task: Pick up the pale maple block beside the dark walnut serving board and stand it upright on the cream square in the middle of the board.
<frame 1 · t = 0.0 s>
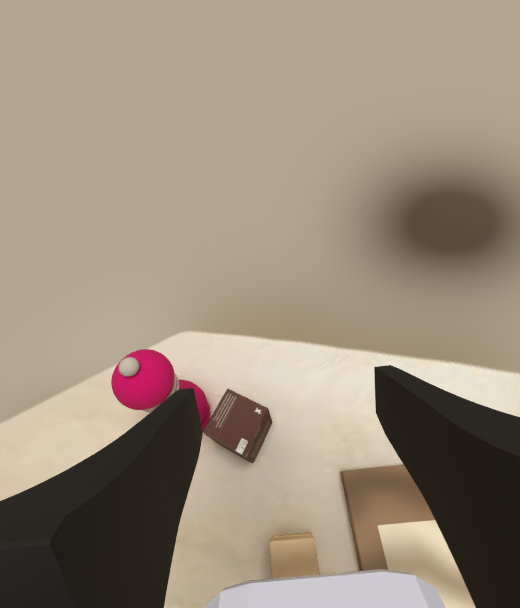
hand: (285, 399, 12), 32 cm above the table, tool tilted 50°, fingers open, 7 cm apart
box: (245, 432, 42), on the table
pepper mill: (190, 416, 44), on the table
walnut board: (427, 572, 32), on the table
maple block: (294, 559, 34), on the table
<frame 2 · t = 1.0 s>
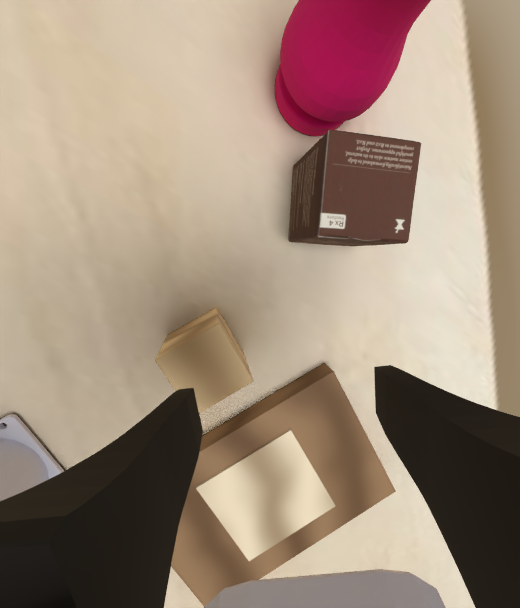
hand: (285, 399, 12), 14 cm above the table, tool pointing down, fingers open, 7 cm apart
box: (323, 208, 25), on the table
pepper mill: (312, 94, 23), on the table
walnut board: (264, 478, 28), on the table
maple block: (206, 343, 25), on the table
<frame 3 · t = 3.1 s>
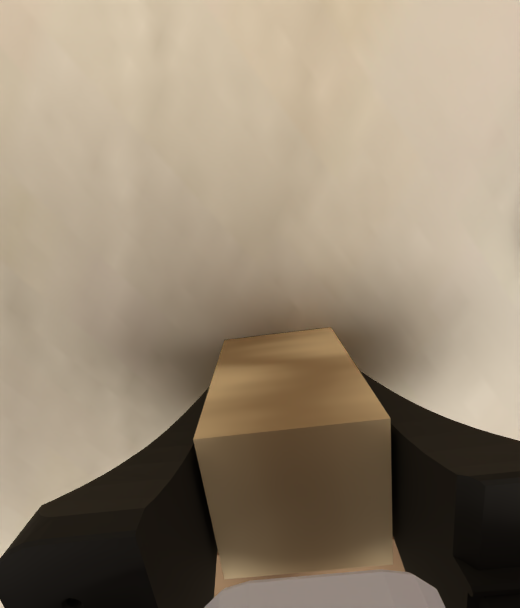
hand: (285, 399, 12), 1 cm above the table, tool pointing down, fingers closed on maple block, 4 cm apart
walnut board: (274, 605, 17), on the table
maple block: (283, 381, 13), on the table, touching gripper
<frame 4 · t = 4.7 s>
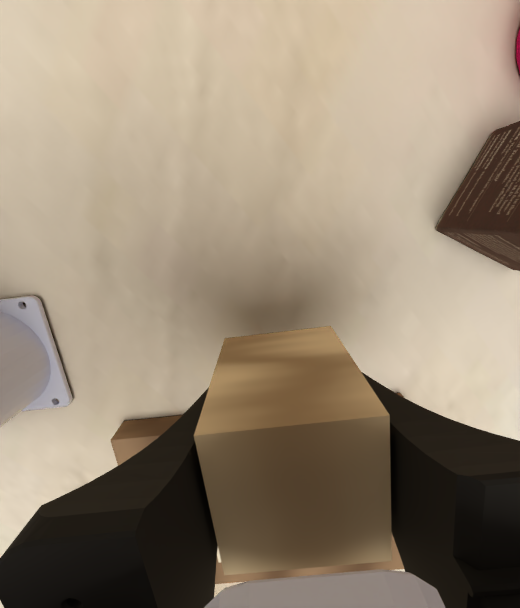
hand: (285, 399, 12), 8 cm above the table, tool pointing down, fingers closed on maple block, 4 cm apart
box: (498, 204, 18), on the table
walnut board: (270, 484, 23), on the table
maple block: (283, 379, 13), point 7 cm above the table, touching gripper
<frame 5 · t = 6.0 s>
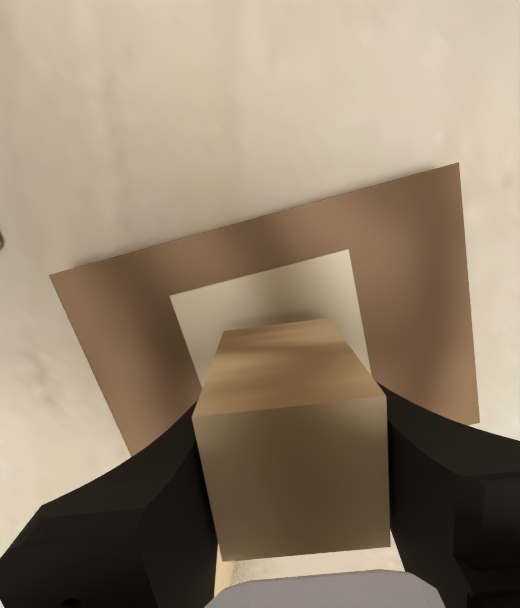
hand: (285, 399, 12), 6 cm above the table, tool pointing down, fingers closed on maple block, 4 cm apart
beer glass: (196, 549, 23), on the table
walnut board: (277, 339, 18), on the table
maple block: (281, 372, 13), point 5 cm above the table, touching gripper
when the fingers open (5 cm above the table, at t = 7.2 s): maple block stays where it is, resting on walnut board.
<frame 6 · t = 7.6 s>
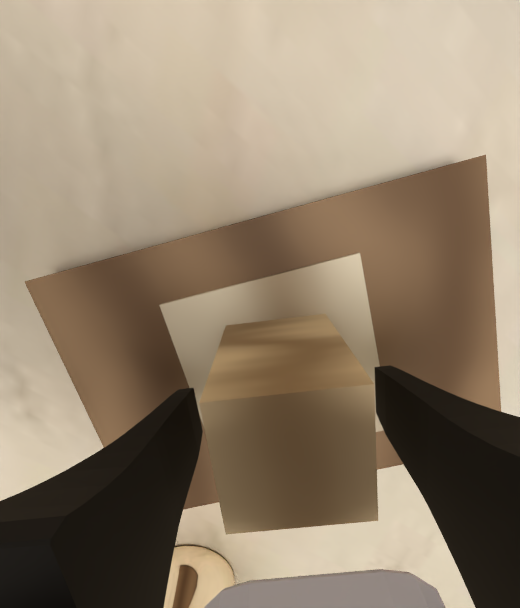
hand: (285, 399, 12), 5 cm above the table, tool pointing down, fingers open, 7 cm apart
beer glass: (191, 573, 21), on the table
walnut board: (279, 351, 16), on the table
maple block: (280, 364, 14), point 2 cm above the table, touching walnut board
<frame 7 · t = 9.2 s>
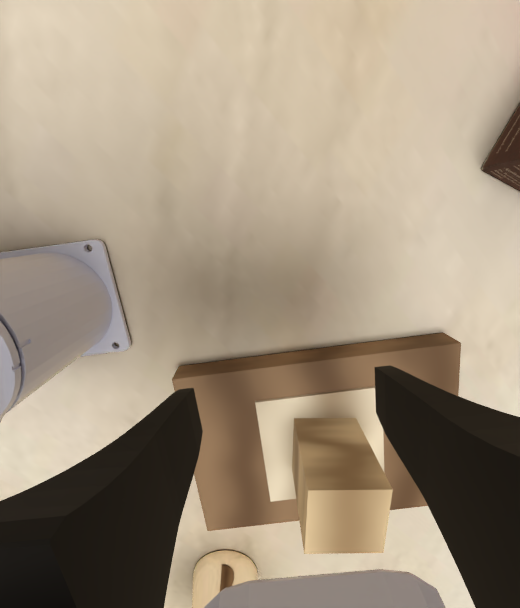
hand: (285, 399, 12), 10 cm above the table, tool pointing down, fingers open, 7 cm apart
beer glass: (225, 570, 29), on the table
walnut board: (317, 427, 24), on the table
maple block: (323, 444, 22), point 2 cm above the table, touching walnut board
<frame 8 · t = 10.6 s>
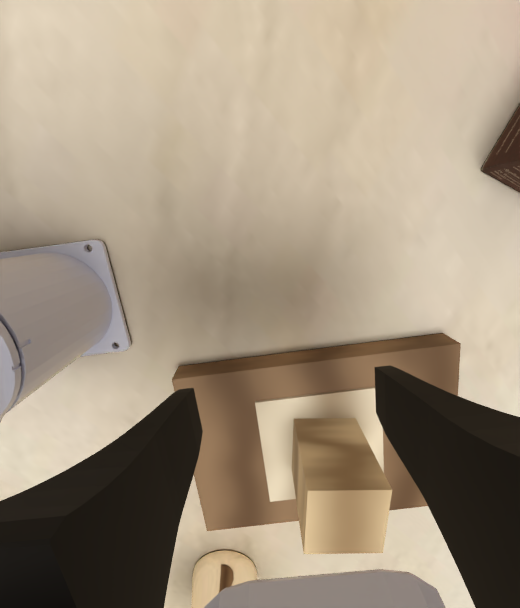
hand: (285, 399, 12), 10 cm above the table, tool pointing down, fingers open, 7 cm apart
beer glass: (225, 570, 29), on the table
walnut board: (316, 428, 24), on the table
maple block: (322, 444, 22), point 2 cm above the table, touching walnut board
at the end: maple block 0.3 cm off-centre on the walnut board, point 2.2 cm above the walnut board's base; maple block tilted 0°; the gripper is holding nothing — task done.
